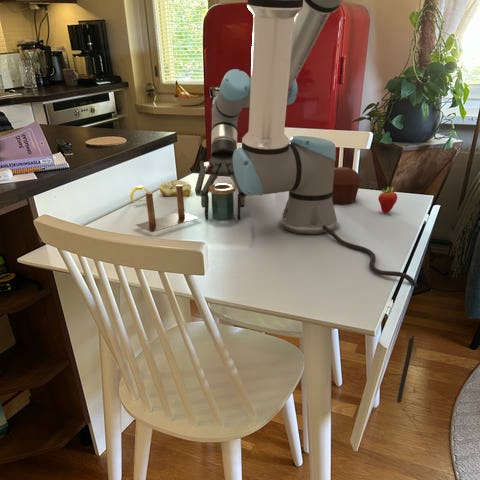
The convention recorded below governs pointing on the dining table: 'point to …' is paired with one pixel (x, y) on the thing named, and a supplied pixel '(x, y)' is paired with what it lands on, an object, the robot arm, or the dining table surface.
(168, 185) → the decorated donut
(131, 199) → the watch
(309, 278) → the dining table surface
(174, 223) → the spool stand
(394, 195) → the fruit
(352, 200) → the muffin
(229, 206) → the spool
